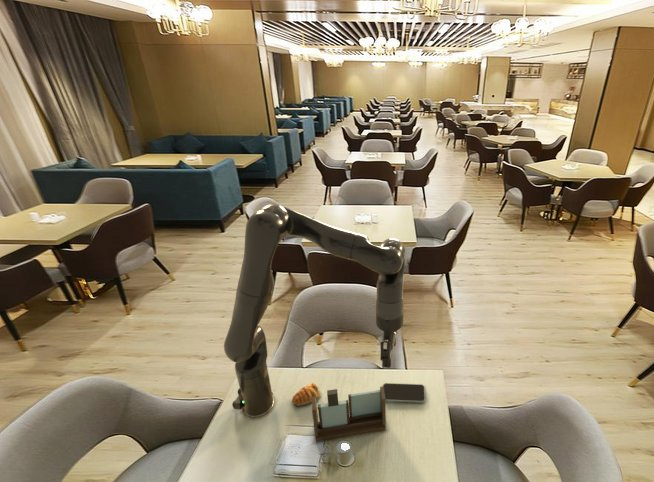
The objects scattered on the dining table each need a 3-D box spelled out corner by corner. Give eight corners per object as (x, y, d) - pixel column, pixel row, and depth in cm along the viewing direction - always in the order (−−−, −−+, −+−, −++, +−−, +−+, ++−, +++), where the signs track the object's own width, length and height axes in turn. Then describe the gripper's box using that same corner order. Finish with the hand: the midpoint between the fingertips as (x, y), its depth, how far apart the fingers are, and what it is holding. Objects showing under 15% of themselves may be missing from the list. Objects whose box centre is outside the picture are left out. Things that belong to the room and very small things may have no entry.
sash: (320, 426, 112) (316, 391, 105) (349, 421, 113) (347, 387, 107) (320, 431, 110) (316, 396, 104) (350, 426, 112) (347, 392, 105)
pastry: (297, 411, 118) (296, 403, 117) (289, 398, 123) (288, 390, 122) (322, 397, 124) (321, 389, 122) (313, 385, 129) (313, 377, 127)
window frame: (315, 425, 114) (312, 395, 108) (382, 414, 118) (382, 385, 112) (315, 442, 109) (311, 411, 103) (385, 430, 113) (385, 400, 107)
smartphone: (425, 401, 122) (381, 399, 122) (424, 403, 122) (381, 401, 122) (424, 384, 129) (383, 382, 129) (424, 386, 129) (383, 384, 129)
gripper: (381, 294, 102) (381, 338, 109) (370, 325, 90) (371, 372, 96) (406, 296, 101) (405, 340, 108) (399, 328, 89) (398, 376, 95)
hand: (389, 355), depth 102 cm, fingers open, 8 cm apart
